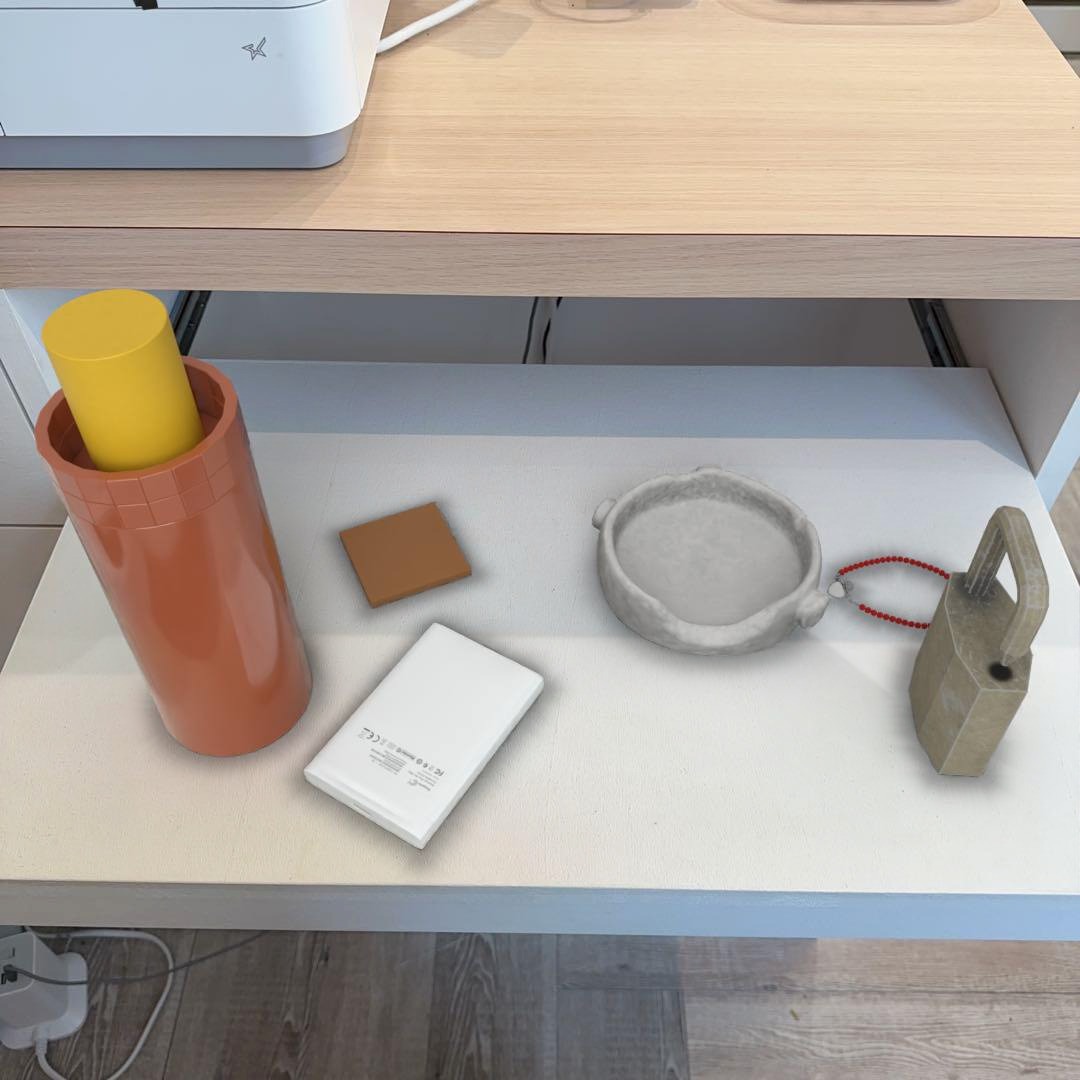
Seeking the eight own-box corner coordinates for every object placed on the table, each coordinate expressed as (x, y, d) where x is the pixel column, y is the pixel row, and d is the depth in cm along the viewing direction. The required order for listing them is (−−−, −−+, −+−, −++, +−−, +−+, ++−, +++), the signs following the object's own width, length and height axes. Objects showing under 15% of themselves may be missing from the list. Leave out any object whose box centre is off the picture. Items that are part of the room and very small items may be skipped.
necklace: (824, 617, 69) (827, 606, 68) (826, 549, 73) (829, 539, 72) (964, 638, 68) (969, 628, 67) (959, 568, 72) (963, 558, 71)
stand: (178, 779, 61) (47, 504, 45) (149, 663, 67) (24, 383, 51) (330, 724, 64) (257, 445, 48) (290, 617, 70) (213, 335, 54)
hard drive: (544, 692, 65) (422, 852, 58) (434, 636, 68) (306, 781, 61) (544, 676, 64) (419, 837, 57) (433, 619, 67) (301, 766, 60)
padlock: (924, 773, 61) (1005, 603, 50) (902, 659, 67) (970, 483, 56) (995, 778, 61) (1092, 608, 50) (967, 662, 67) (1048, 487, 56)
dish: (845, 645, 68) (862, 594, 64) (634, 692, 65) (640, 641, 62) (755, 491, 77) (766, 438, 74) (569, 527, 75) (570, 474, 71)
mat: (371, 608, 70) (370, 602, 70) (339, 537, 74) (338, 531, 74) (471, 575, 72) (471, 569, 72) (435, 507, 76) (434, 501, 76)
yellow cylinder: (107, 512, 49) (48, 372, 44) (90, 443, 53) (33, 305, 47) (220, 479, 51) (177, 340, 45) (197, 415, 54) (154, 277, 48)
